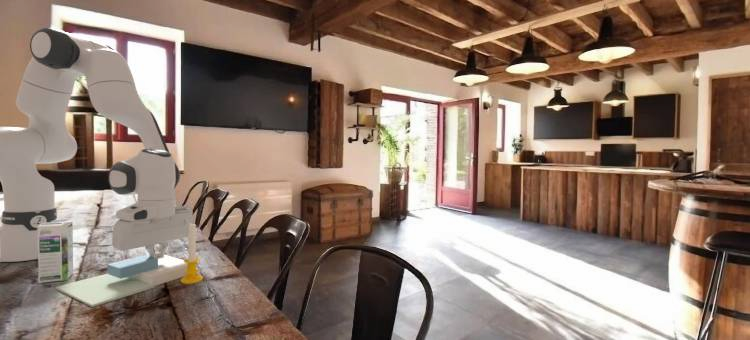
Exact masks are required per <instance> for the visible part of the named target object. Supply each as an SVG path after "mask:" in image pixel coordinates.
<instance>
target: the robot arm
mask: <svg viewBox="0 0 750 340" xmlns="http://www.w3.org/2000/svg"><path fill="white" fill-rule="evenodd" d="M29 48H30V53H31V55H32V57H31V59H30V60H29V62H28V65H27V66H26V68H25V71H24V72H23V73H24V74H23V76H22V79H21V83H20V85H19V86H20V87H19V89H18V92H17V96H16V99H15V105H16V107H17V108H18V110H19V111H20V112H21V113H23V114H24V115H26V116H27V117H28V126H27V127H19V126H0V183H1V186H2V194H3V195H2V196H3V207H4V209H3V211H2V213H1V226H0V263H5V262H7V263H13V262H24V261H25V262H26V261H33V260H38V238H37V227H38V226H39V225H40V224H42V223H48V222H58V221H57V219H58V209H57V207H55V206H56V205H55V204H56V203H55V201H56V200H55V198H56V197H55V195H56V194H55V185H54V182H52V180H50V179H48V178H47V177H44V176H42V175H41V174H40V172H39V171H38V169H37V165H39V164H41V165H43V164H46V165H47V164H49V165H50V164H57V163H61V162H65V161H70V160H71V159H73V158H74V157H75V156H76V154H77V151H78V144H77V141H76V139H75V137H74V136H73V135H72V134H71V133H70V132H69V130H68V128H67V122H66V115H67V110H68V107H69V103H70V101H71V96H72V93H73V91H74V87H75V82H76V80H77V79H78V78H80V77H85V81H86V82H85V83H86V85H87V91H88V96H89V100H90V102H91V104H92V106H93V108H94V110H95V111H96V112H97V113H98V114H99V115H101V117H104V118H105V119H107V120H110V121H112V122H115V123H118V124H120V125H122V126H124V127H126V128H129V130H132V131H133V132H134V133H135V134H137V136H138V137H139V138H140V141H141V143H142V145H143V147H144V149H141V150H140V151H139V152H138V153H137V155H135V156H133V157H131V158H128V159H125V160H120V161H117V162H115V163H114V164H113V165H112V166H111V167H110V169H109V172H108V175H107V181H108V185H109V187H110V188H111V190H112V191H113V192H115V193H116V194H118V195H122V196H132V195H133V196H134V195H137V199H136V200H137V202H134V203H133V204H131V205H129V206H126V207H123V208H120V209H119V210H117V211H116V213H115V218H116V219H118V220H117V221H116V222H115V223H114V226H113V228H112V229H113V230H112V238H111V239H112V240H111V241H112V243H111V244H112V247H113V248H114V249H115V250H116V251H117V250H118V251H120V252H123V251H124V252H125V251H128V250H134V249H139V248H143V247H144V248H145V251H147V252H148V254H149V256H151V257H154V258H157V259H161V258H164V255H165V252H166V250H167V248H168V246H169V242H171V241H176V240H181V239H184V238H189V224H190V223H191V224H192V222H193V224H195V222H194V216H193V215H194V213H193V212H194V211H193V208H192V207H191V206H189V205H187V204H185V205H180V206H176V194H175V188H176V187H178V184H179V182H180V179H181V173H180V169H179V167H178V165H177V163H176V162H175V158H174V155H173V154H172V153H171V152H170V150H169V148H168V146H167V143H166V141H165V138H164V135H163V133H162V131H161V128H160V126H159V124H158V121H157V119H156V117H155V115H154V113H152V111H151V110H150V109H148V107H147V106H146V105H145V103H144V102H143V100H142V99H141V98H140V96H139V93H138V90H137V86H136V83H135V80H134V76H133V74H132V71H131V69H130V66H129V64H128V62H127V60H126V59H125V57H124V56H123V55H122V54H121V53H120V52H119V51H118V50H117V49H115V48H113V47H112V46H109V45H108V44H103V43H101V42H99V41H96V40H94V39H91V38H89V37H86V36H80V35H77V34H74V33H69V32H65V31H64V30H61V29H57V28H50V27H43V28H40V29H39V30H37V31H35V33H33V35H32V37H31V38H30V41H29ZM156 244H157V245H158V246H159V245H160V246H159V248H158V250H157V251H155V250H154V249H155V247H156Z"/></svg>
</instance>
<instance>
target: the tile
mask: <svg viewBox="0 0 750 340" xmlns="http://www.w3.org/2000/svg"><path fill="white" fill-rule="evenodd" d="M156 268H158V259H157V258H154V257H151V256H150V255H147V254H143V255H139V256H135V257H131V258H127V259H123V260H120V261H115V262H112V263H108V264H107V274H109V275H112V276H115V277H117V278H120V279H122V278H125V277H129V276H132V275H135V274H139V273H142V272H146V271H149V270H152V269H156Z"/></svg>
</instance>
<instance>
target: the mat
mask: <svg viewBox="0 0 750 340" xmlns="http://www.w3.org/2000/svg"><path fill="white" fill-rule="evenodd" d="M154 288H155V286H154V285H151V284H149V283H146V282H143V281H141V280H138V279H135V278H133V277H130V276H129V277H125V278H122V279H120V278H117V277H115V276H112V275H109V274H108V273H104V274H101V275H96V276H93V277H89V278H85V279H81V280H77V281H72V282H70V283H65V284H62V285H57V286H55V288H54V289H55V290H56V291H59V292H61V293H63V294H65V295H67V296H69V297H71V298H72V299H75V300H77V301H79V302H82V303H83V304H85V305H87V306H89V307H92V308H94V307H97V306H101V305H103V304H107V303H111V302H114V301H116V300H119V299H123V298H125V297H128V296H131V295H135V294H138V293H141V292H144V291H147V290H150V289H154Z"/></svg>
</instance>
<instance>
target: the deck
mask: <svg viewBox="0 0 750 340" xmlns="http://www.w3.org/2000/svg"><path fill="white" fill-rule="evenodd" d="M184 260H185V259H182V258H177V257H175V256H170V255H167V254H164V258H161V259H158V268H156V269H152V270H149V271H146V272H142V273H139V274H135V275H132V276H130V277H133V278H135V279H138V280H141V281H143V282H146V283H149V284H151V285H154V287H155V286H158V285H162V284H165V283H168V282H171V281H174V280H177V279H182V278H183V277H185V276H188V275H187V274H185V271H187V270H188V269H187V266H188V264H187V263H185V262H184Z"/></svg>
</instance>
